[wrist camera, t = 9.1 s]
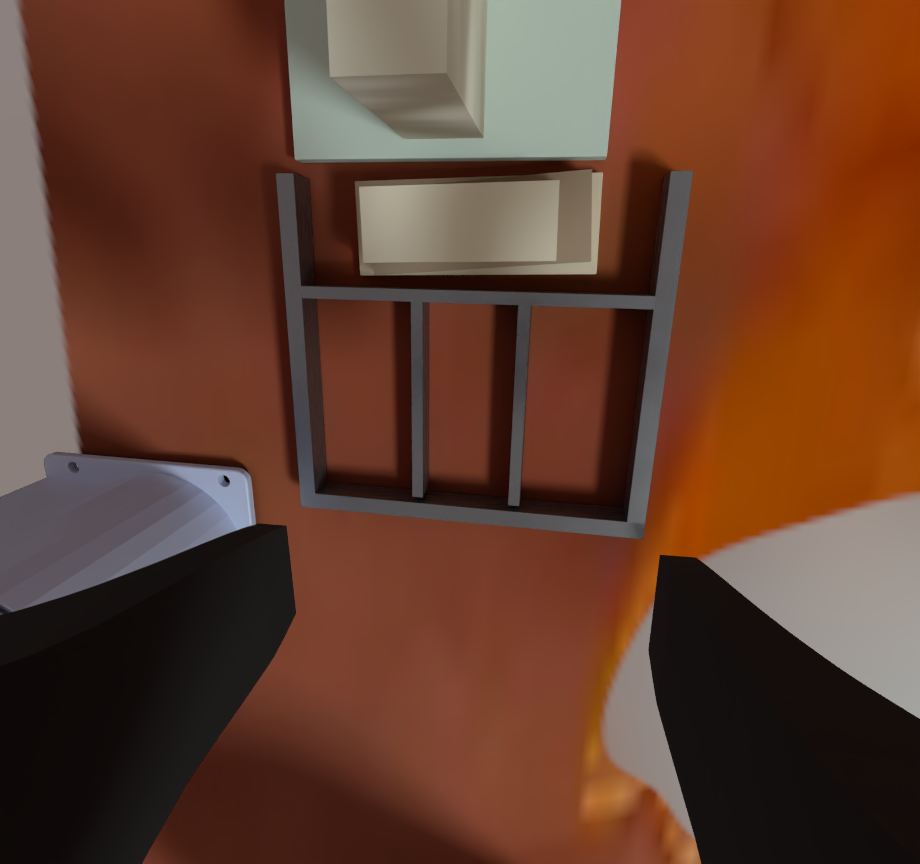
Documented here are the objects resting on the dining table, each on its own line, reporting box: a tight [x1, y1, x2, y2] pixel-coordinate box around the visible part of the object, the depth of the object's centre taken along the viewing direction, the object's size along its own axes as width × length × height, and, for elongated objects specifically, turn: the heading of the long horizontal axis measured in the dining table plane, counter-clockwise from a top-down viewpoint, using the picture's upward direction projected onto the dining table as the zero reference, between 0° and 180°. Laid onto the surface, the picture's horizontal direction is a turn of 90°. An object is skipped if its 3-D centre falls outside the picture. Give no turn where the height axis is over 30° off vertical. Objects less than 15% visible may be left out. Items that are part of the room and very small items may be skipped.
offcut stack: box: [355, 169, 603, 275], centre depth 17 cm, size 8×3×2 cm, turn 91°
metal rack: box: [276, 171, 693, 539], centre depth 19 cm, size 13×12×1 cm
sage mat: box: [284, 0, 621, 163], centre depth 16 cm, size 10×8×1 cm
